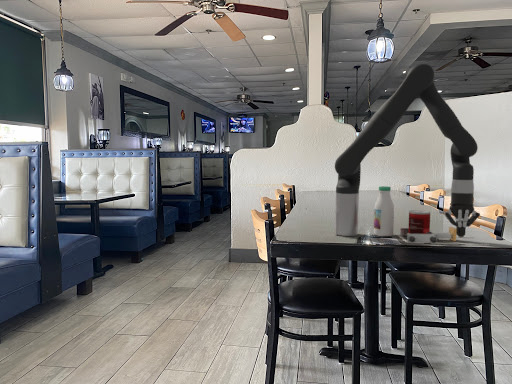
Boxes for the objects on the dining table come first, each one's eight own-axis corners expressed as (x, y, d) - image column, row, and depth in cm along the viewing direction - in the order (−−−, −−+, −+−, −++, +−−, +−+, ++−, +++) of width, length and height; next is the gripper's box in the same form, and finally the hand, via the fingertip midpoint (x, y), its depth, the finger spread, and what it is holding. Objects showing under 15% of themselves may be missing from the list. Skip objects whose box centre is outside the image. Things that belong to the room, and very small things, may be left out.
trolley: (408, 242, 145) (408, 230, 144) (399, 234, 160) (399, 223, 159) (461, 243, 142) (461, 231, 142) (447, 235, 157) (447, 224, 157)
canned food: (425, 237, 155) (426, 210, 154) (432, 241, 147) (433, 212, 146) (405, 237, 156) (406, 209, 155) (411, 241, 148) (412, 212, 147)
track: (406, 242, 145) (406, 242, 145) (397, 235, 160) (397, 234, 160) (489, 245, 141) (489, 244, 141) (472, 237, 156) (472, 236, 156)
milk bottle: (393, 233, 163) (394, 186, 161) (393, 237, 156) (394, 187, 154) (374, 232, 165) (375, 185, 164) (373, 236, 158) (374, 187, 157)
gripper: (447, 192, 145) (445, 238, 146) (485, 192, 143) (483, 238, 145) (440, 190, 152) (439, 234, 154) (476, 190, 151) (475, 235, 152)
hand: (460, 236), depth 149 cm, fingers closed
